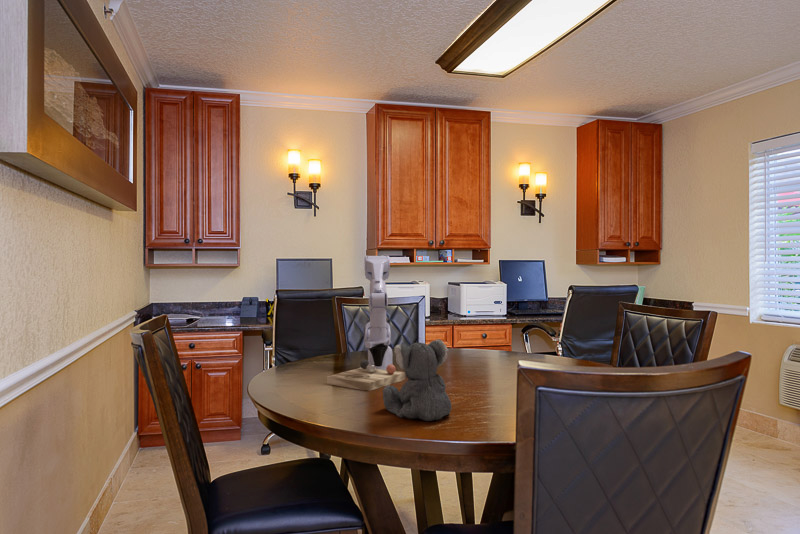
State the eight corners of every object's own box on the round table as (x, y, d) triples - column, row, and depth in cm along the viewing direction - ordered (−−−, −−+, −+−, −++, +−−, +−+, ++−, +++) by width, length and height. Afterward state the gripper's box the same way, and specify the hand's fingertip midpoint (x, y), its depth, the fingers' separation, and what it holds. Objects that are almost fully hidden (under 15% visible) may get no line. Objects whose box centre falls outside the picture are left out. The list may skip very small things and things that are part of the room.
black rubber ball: (363, 367, 188) (363, 358, 188) (370, 368, 186) (370, 359, 186) (358, 369, 185) (358, 360, 185) (365, 370, 183) (365, 360, 183)
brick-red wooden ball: (389, 372, 179) (389, 363, 179) (397, 373, 177) (397, 364, 177) (384, 374, 176) (384, 364, 176) (392, 375, 174) (391, 365, 174)
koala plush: (437, 402, 149) (436, 334, 149) (467, 419, 132) (466, 342, 132) (379, 408, 143) (379, 337, 143) (403, 427, 126) (403, 346, 126)
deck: (364, 373, 189) (364, 366, 189) (405, 379, 179) (405, 372, 179) (326, 383, 173) (326, 376, 173) (369, 391, 163) (369, 383, 163)
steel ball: (370, 371, 180) (370, 362, 180) (377, 372, 178) (377, 363, 178) (364, 373, 178) (364, 363, 178) (372, 374, 176) (372, 364, 176)
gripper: (378, 324, 190) (378, 361, 190) (357, 328, 177) (357, 368, 177) (395, 325, 186) (395, 363, 186) (375, 329, 173) (375, 370, 173)
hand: (378, 366), depth 181 cm, fingers closed
